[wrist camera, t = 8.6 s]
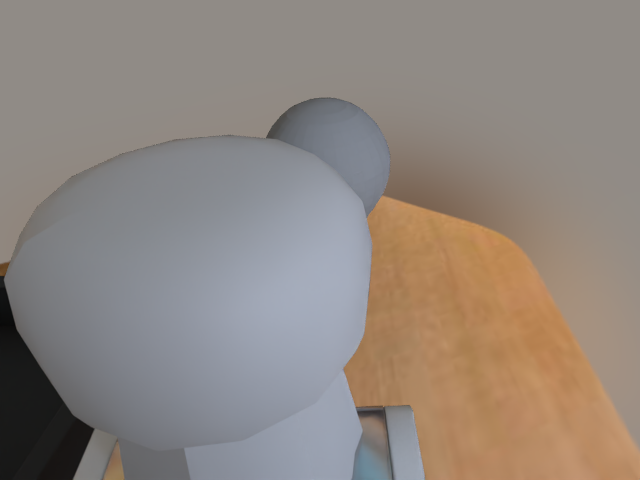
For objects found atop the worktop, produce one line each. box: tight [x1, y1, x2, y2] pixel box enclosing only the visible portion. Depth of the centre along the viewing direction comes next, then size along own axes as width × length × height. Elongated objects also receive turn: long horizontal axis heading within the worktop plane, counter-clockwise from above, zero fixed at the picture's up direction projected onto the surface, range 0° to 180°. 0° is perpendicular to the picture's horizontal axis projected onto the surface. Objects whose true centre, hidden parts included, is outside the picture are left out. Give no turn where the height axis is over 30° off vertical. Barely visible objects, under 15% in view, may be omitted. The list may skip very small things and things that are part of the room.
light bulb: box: [266, 98, 390, 218], centre depth 25 cm, size 6×6×10 cm
